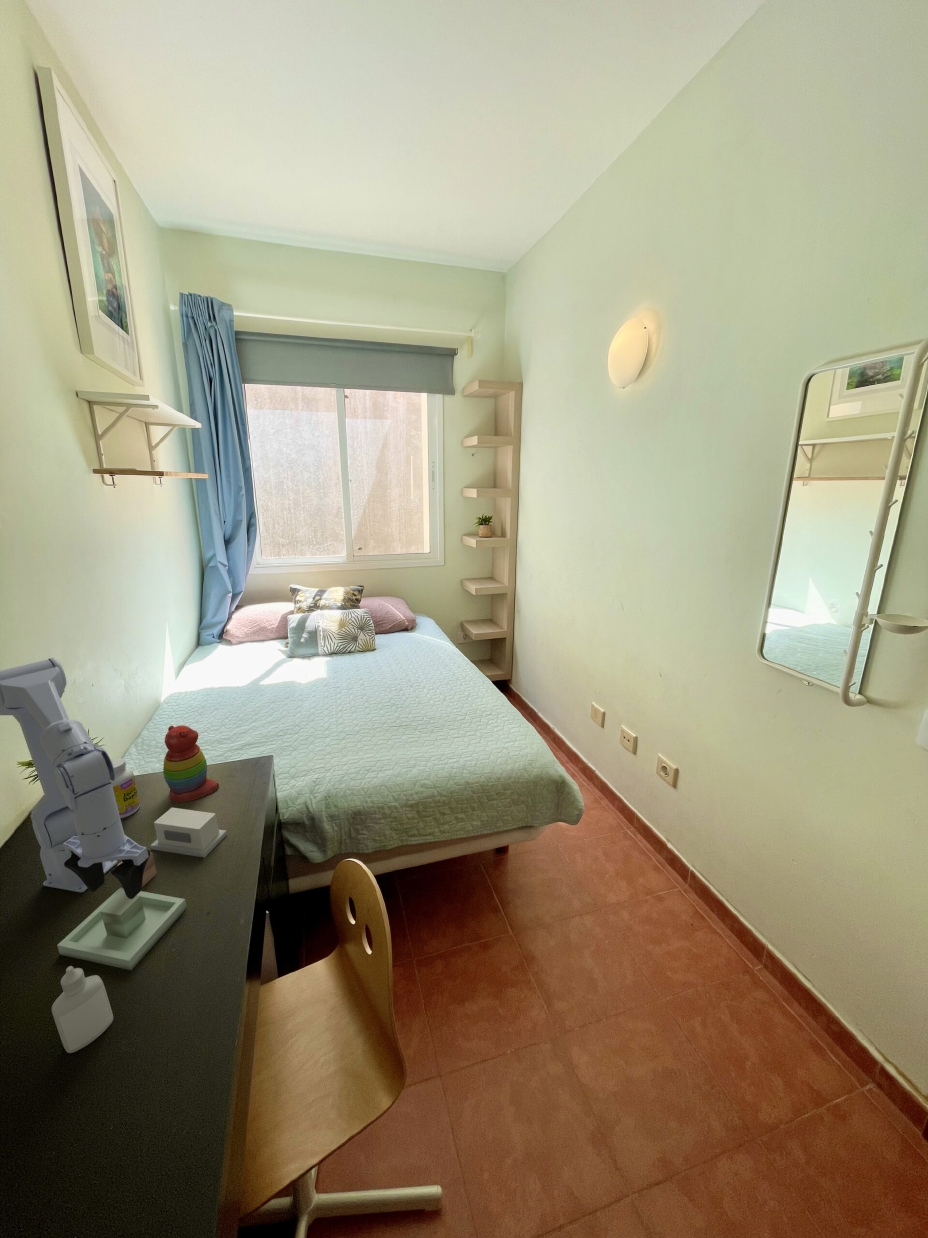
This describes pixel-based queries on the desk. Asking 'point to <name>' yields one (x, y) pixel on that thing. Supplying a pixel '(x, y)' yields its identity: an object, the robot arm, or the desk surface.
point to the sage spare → (123, 915)
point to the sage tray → (117, 951)
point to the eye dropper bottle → (81, 1009)
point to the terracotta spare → (148, 870)
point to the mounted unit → (187, 832)
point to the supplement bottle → (124, 788)
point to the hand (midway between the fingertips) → (116, 890)
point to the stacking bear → (186, 766)
